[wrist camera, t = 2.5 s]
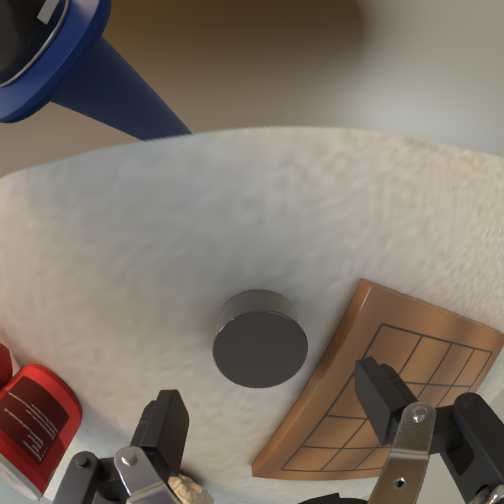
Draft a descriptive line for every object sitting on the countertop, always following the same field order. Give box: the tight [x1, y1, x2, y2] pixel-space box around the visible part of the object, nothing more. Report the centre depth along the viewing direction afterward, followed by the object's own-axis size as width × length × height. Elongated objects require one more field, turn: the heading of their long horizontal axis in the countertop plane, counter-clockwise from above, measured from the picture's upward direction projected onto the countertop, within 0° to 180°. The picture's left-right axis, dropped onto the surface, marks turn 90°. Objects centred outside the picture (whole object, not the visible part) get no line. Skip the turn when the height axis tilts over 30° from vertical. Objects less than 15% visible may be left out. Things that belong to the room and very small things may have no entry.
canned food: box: [0, 364, 82, 501], centre depth 12 cm, size 8×8×11 cm
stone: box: [126, 472, 214, 504], centre depth 17 cm, size 8×12×10 cm
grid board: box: [252, 279, 504, 480], centre depth 18 cm, size 20×20×2 cm
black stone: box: [212, 290, 308, 388], centre depth 15 cm, size 5×5×3 cm
